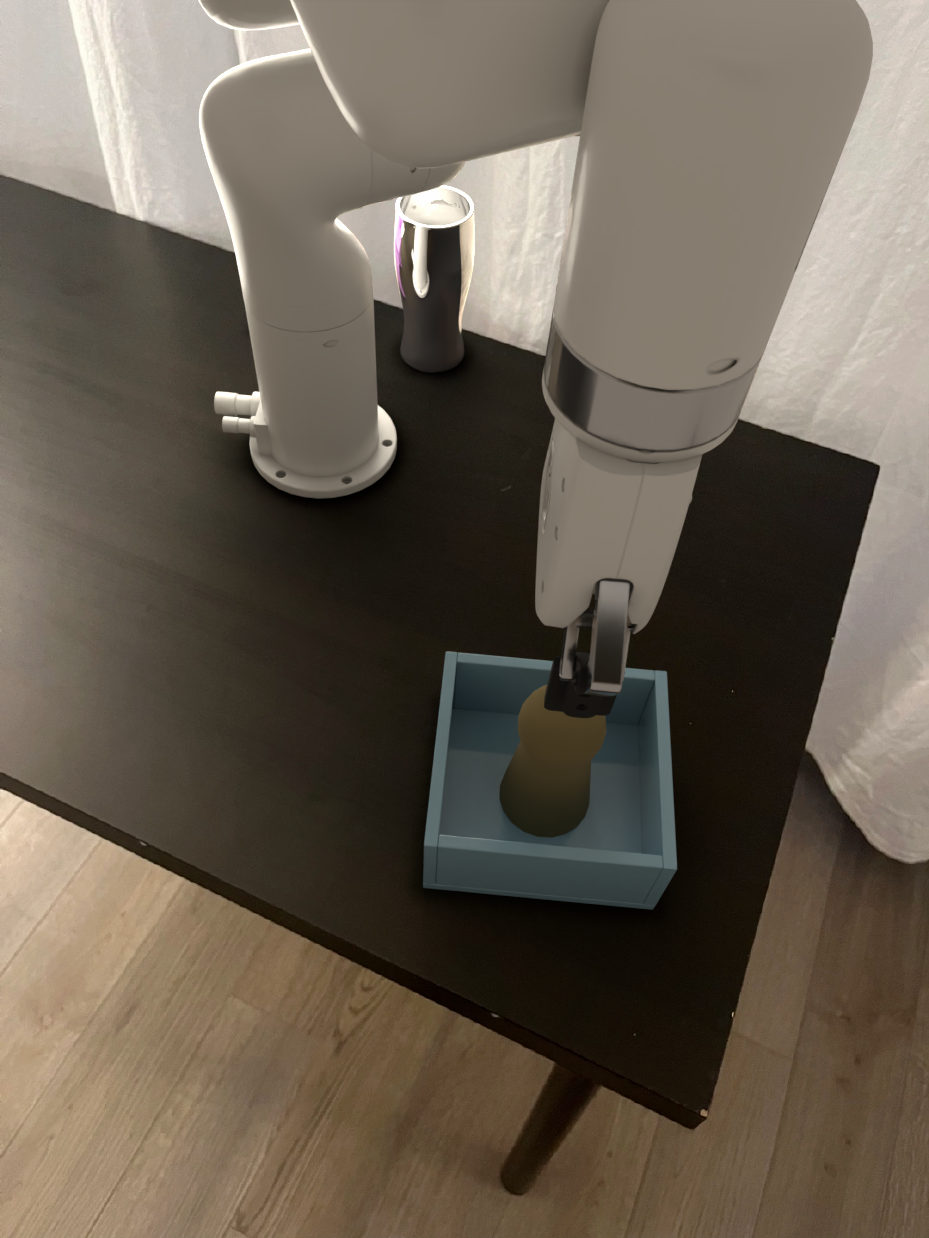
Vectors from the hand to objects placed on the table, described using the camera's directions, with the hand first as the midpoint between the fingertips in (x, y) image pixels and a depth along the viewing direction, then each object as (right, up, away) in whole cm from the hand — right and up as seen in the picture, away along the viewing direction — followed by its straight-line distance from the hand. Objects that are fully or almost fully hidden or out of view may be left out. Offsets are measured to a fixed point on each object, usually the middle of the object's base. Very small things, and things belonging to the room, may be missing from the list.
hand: (577, 625), depth 49 cm
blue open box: (-1, -12, +15) cm, 19 cm away
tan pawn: (-1, -12, +15) cm, 19 cm away
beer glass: (-9, +26, +43) cm, 50 cm away
